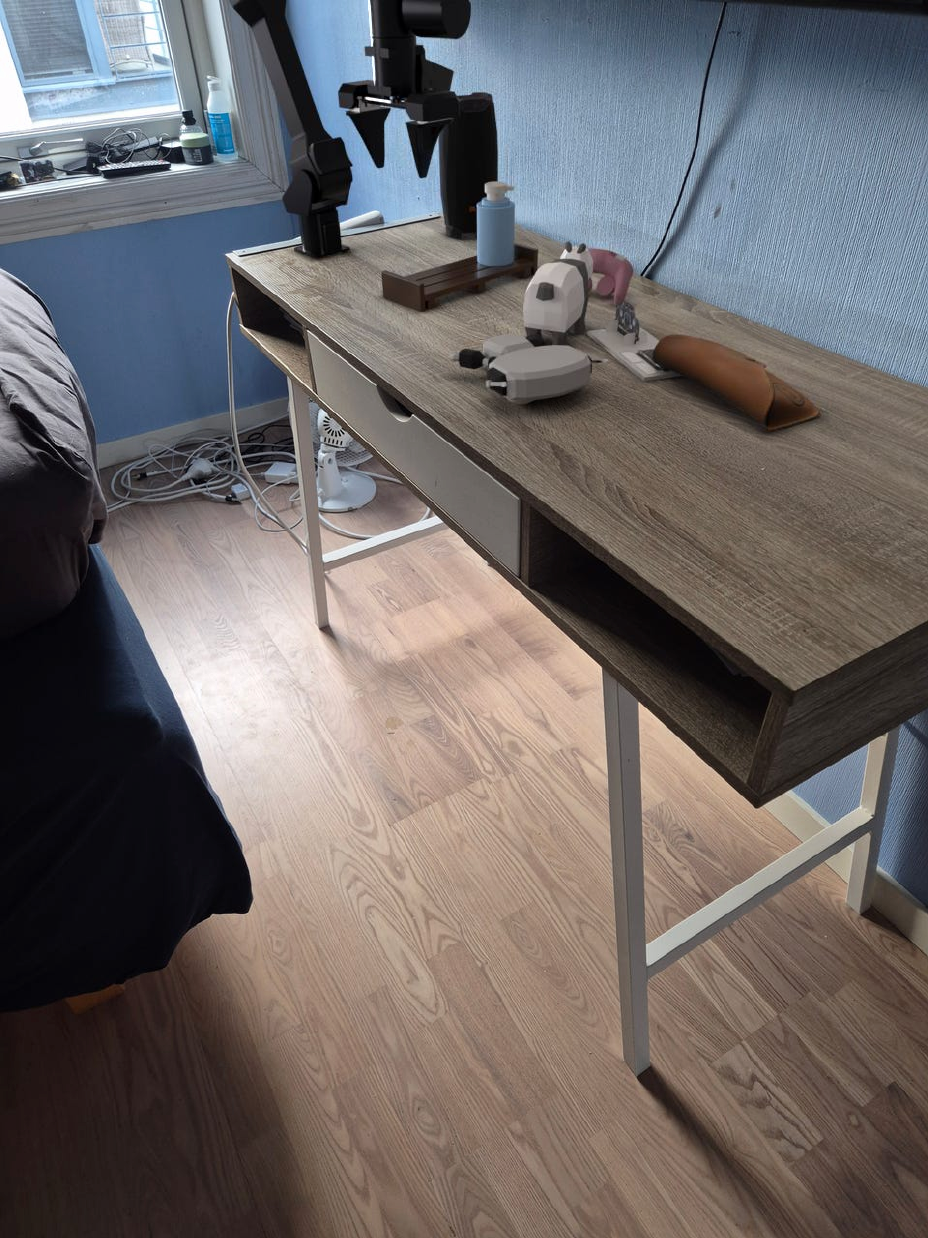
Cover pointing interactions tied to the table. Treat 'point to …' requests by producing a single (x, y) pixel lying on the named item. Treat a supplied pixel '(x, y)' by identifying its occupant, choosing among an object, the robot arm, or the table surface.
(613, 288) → the video game controller
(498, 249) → the bottle
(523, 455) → the table surface
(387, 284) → the rack
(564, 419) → the table surface
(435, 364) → the table surface
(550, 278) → the giant panda
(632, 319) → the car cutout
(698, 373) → the sunglasses case
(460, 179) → the portable speaker
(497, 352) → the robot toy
